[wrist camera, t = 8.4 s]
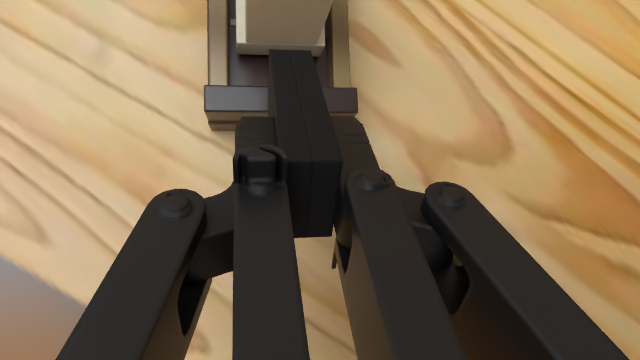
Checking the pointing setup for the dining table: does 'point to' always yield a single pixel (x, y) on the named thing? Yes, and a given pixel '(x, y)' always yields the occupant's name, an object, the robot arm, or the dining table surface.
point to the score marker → (281, 25)
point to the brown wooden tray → (253, 70)
